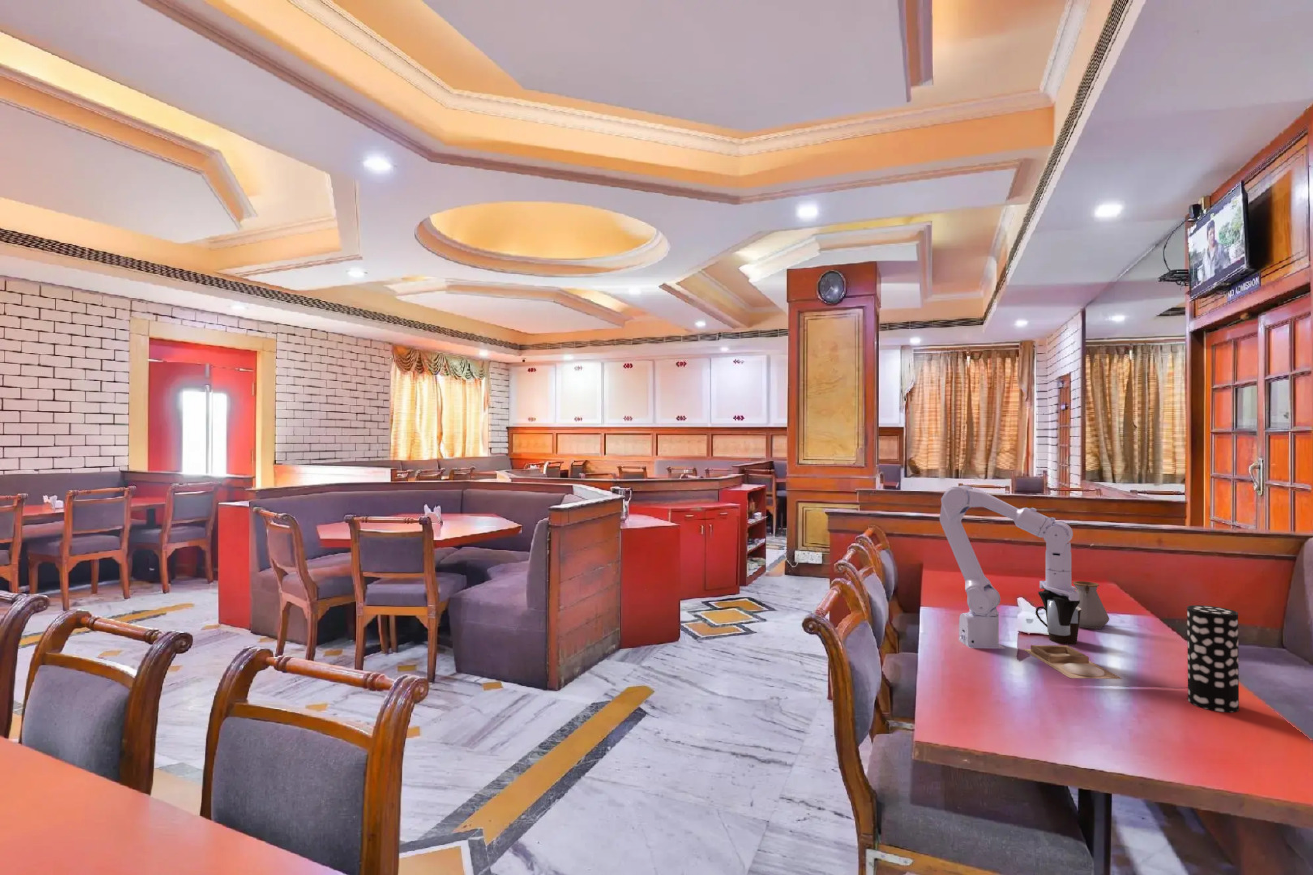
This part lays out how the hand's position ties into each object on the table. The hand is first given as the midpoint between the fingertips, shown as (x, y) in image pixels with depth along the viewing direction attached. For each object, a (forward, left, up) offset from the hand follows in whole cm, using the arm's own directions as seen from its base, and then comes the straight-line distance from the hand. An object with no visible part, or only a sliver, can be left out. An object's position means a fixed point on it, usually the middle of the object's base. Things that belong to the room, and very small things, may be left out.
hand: (1058, 622), depth 171 cm
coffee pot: (+24, +29, -10) cm, 39 cm away
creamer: (0, 0, -3) cm, 3 cm away
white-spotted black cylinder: (+16, -29, -10) cm, 34 cm away
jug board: (0, -5, -9) cm, 10 cm away
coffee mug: (+9, +16, -10) cm, 21 cm away
